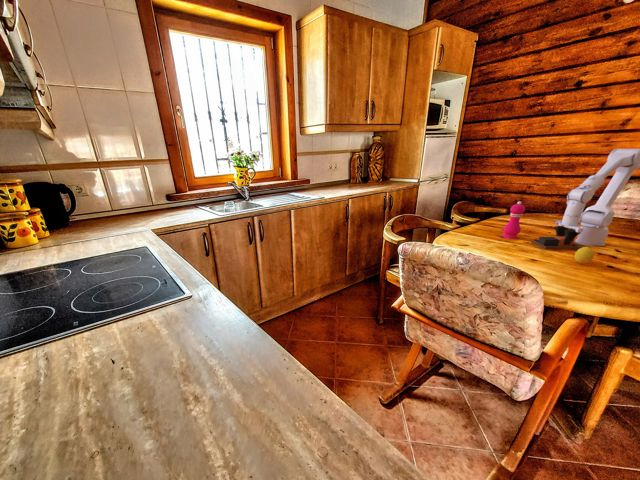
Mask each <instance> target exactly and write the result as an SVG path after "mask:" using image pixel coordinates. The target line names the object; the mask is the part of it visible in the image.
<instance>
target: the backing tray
mask: <svg viewBox="0 0 640 480" xmlns="http://www.w3.org/2000/svg"><path fill="white" fill-rule="evenodd" d="M538 240H539V239H532V240H531V242H530V243H531V244H533V245H535V246H537V247H539V248H541V249H542V250H549V251H551V250H552V251H553V250H554V251H557V250H558V251H577V250H578V249H580V248H583V245H580V244H578V243H576V242H574V243H573V246H545V245H543V244H541V243H539V242H538Z"/></svg>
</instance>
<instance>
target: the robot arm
mask: <svg viewBox="0 0 640 480" xmlns="http://www.w3.org/2000/svg"><path fill="white" fill-rule="evenodd" d="M639 169H640V148H614V149H613V150H611V152H610V153H609V154H608V156H607V160H606V162H605V163H604V165H602V167H601V168H600V169H599V170H598V171H597V173H595V174H592V175H590V176H588V177H587V178H586V179H585V180H584V181H583V182H582V183H581V184H580V185H579V186H578V187H575V188H573V189H571V190H570V191H568V194H567V195H566V208H565V211H564V214H563V217H562V220H559V219H558V220H555V223H554V225H555V226H554V230H555V236H565V239H564V244H565V245H569V244H570V243H571V242H572V241H573V239H575V238H576V239H575V241H574V243H576V244H578V245H581V246H594V247H595V246H596V247H604V246H606V244H605V243H606V241H607V238H608V236H609V233H610V231H609V228H608V227H609V226H610V224H611V223H612V222H613V220H614V216H615V214H616V212H615V211H614V210H613V209H612V208H611V207H612V205H613V204H614V202H616V200H617V198H618V196H619V195H620V193H621V192H622V190H623V188H624V187H625V186H626V184H627V183H628V181H629V180H630V179H631V177H632V175H633V173H634V172H635V171H637V170H639ZM613 172H615V173H614V174H613V176H612V178H611V179H610V181H609V183H608V184H607V185H606V187H605V189H604V190H603V192H602V193H601V195H600V197H599V198H598V199H597V201H596V203H595V204H594V205H591V206H588V207H587V208H586V204H587V203H588V202H589V201H591V200H592V198H593V197H594V195H595V193H596V191H597V190H598V189H599V188H600V187H601V186H602V185H603V184H605V179H606V178H607V177H608V176H610V175H611V174H612V173H613ZM584 209H585V210H584ZM579 223H580V225H579Z"/></svg>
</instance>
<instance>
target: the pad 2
mask: <svg viewBox="0 0 640 480" xmlns="http://www.w3.org/2000/svg"><path fill="white" fill-rule="evenodd" d="M553 237H554V238H557V239H559V243H558V246H573V243H575V242H574V241H575V240H576V239H575V238H574V239H573V241H572V242H571V243H570V244H569V245H565V244H564V239H565V236H556V235H554V236H553Z"/></svg>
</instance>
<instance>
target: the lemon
mask: <svg viewBox="0 0 640 480" xmlns="http://www.w3.org/2000/svg"><path fill="white" fill-rule="evenodd" d="M594 258H595V251H594V249H592V248H591V247H590V246H582V248H580V249H578V250H576V251H575V253H574V258H573V259H574V261H575V262H576V263H578V264H579V265H581V266H582V265H586V264H589V263H591V262H592V261H593V260H594Z"/></svg>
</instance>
